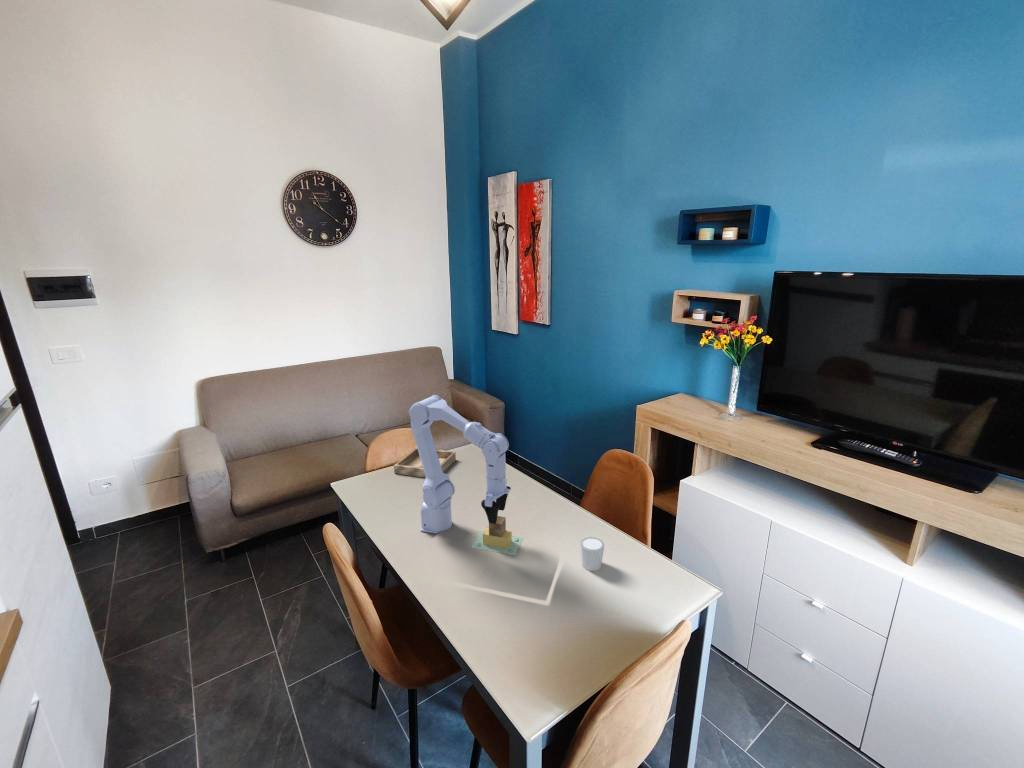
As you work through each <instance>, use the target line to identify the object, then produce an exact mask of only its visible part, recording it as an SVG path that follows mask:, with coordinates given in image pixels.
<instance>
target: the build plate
mask: <svg viewBox="0 0 1024 768" xmlns="http://www.w3.org/2000/svg"><path fill="white" fill-rule="evenodd" d="M484 531H485V530H481V531H480V532H479V534H478V535H477V537H476V538H475V540H474V541H473V543H472V545H471V547H470V548H473V549H477V550H478V549H479V550H483V551H489V552H494V553H499V554H506V555H511V556H516V554H517V552H518V550H519V547H520V546H521V544H522V542H523V540H524V537H518V536H513V535H512V542H511V543H510V545H509V547H508V549H507V548H502V547H496V546H491V545H485V544H483V533H484Z"/></svg>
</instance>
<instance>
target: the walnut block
mask: <svg viewBox="0 0 1024 768" xmlns="http://www.w3.org/2000/svg"><path fill="white" fill-rule="evenodd" d="M506 524H507V523H506V516H499V515H498V516H497V522H496V524H492V523H489V522H488V527H489V535H490V536H496V537H502V536H503V534H504V532H505V531H506V530H507V529H506V528H507V527H506V526H507V525H506Z"/></svg>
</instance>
